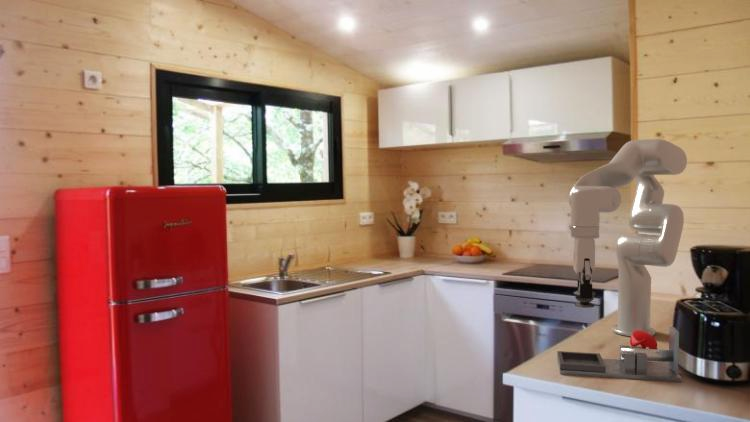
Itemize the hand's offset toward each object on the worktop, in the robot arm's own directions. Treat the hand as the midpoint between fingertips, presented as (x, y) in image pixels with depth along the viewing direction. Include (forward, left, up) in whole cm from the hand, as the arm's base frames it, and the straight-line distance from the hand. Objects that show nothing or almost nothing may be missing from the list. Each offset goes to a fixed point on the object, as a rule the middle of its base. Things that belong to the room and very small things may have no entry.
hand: (584, 294), depth 170 cm
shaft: (+13, +14, -15) cm, 25 cm away
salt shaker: (0, 0, -3) cm, 3 cm away
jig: (+13, +7, -17) cm, 22 cm away
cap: (-5, +17, -17) cm, 24 cm away
